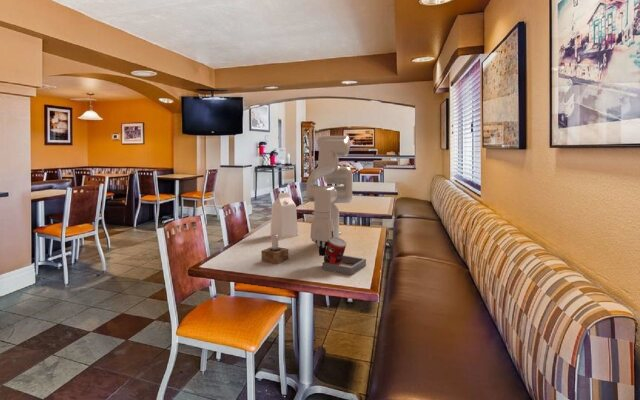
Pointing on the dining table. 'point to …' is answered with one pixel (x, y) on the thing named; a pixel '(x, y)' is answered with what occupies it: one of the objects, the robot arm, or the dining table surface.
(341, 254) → the canned food
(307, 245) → the dining table surface
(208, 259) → the dining table surface
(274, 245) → the pin
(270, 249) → the block
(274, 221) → the milk
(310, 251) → the dining table surface
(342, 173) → the robot arm
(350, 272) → the tray
